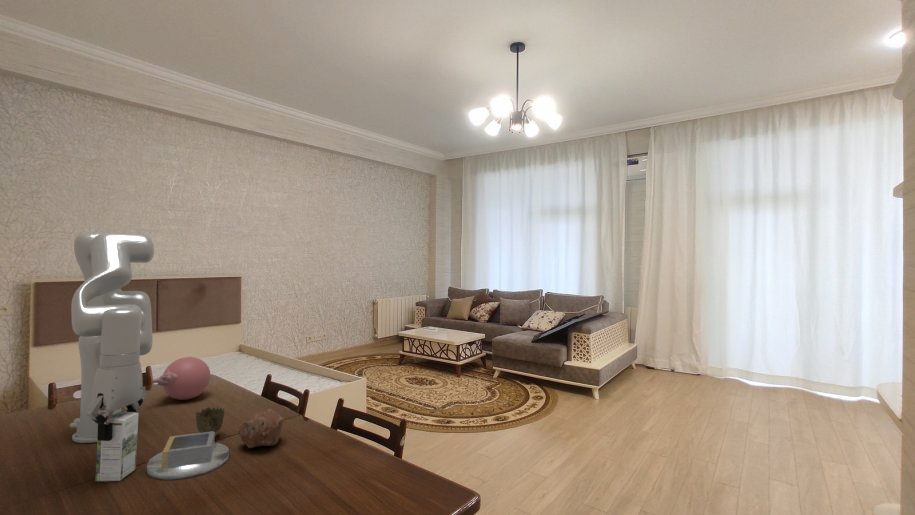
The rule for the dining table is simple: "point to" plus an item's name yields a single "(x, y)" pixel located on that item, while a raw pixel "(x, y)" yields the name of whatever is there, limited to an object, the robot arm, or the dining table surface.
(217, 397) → the dining table surface
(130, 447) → the syrup box
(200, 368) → the inflated balloon
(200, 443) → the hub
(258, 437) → the decorative rock
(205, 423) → the dark green lumpy clump
